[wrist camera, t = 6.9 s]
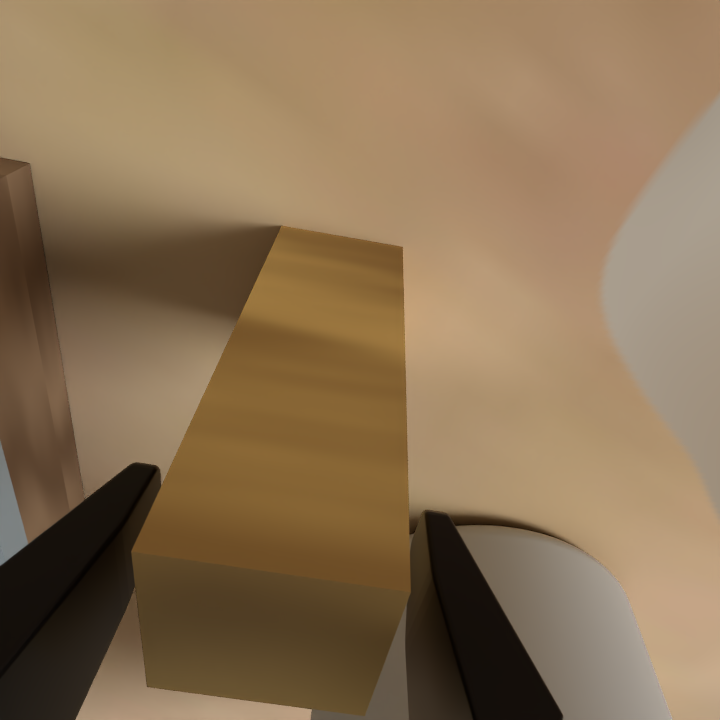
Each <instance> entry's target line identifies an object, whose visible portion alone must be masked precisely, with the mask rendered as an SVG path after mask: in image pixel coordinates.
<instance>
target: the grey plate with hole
mask: <svg viewBox="0 0 720 720" xmlns="http://www.w3.org/2000/svg"><path fill="white" fill-rule="evenodd" d="M27 544H28V541H27V538H26V534H25V530H24V526H23V523H22V519H21V515H20V512H19V508H18V504H17V500H16V497H15V493H14V489H13V486H12V482H11V478H10V475H9V471H8V467H7V463H6V460H5V456H4V452H3V449H2V445H1V441H0V565H2V564H3V563H4V562H6V561H7V560H8V559H9V558H11V557H12V556H13V555H15V554H16V553H17V552H18V551H20V550H21V549H22V548H24V547H25V546H26V545H27Z"/></svg>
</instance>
